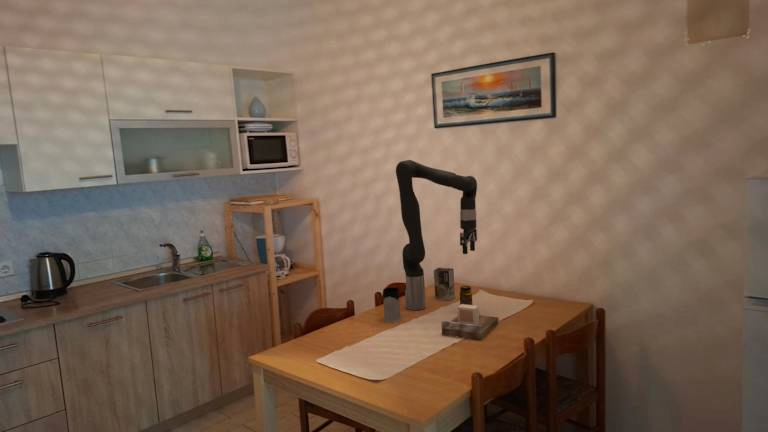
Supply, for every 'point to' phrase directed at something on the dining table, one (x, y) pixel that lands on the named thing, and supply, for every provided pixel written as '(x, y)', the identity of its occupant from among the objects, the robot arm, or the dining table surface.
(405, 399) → the dining table surface
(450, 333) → the grey rectangular slab
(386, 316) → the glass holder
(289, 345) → the dining table surface
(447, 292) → the coffee box
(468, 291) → the condiment
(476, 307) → the tea box
